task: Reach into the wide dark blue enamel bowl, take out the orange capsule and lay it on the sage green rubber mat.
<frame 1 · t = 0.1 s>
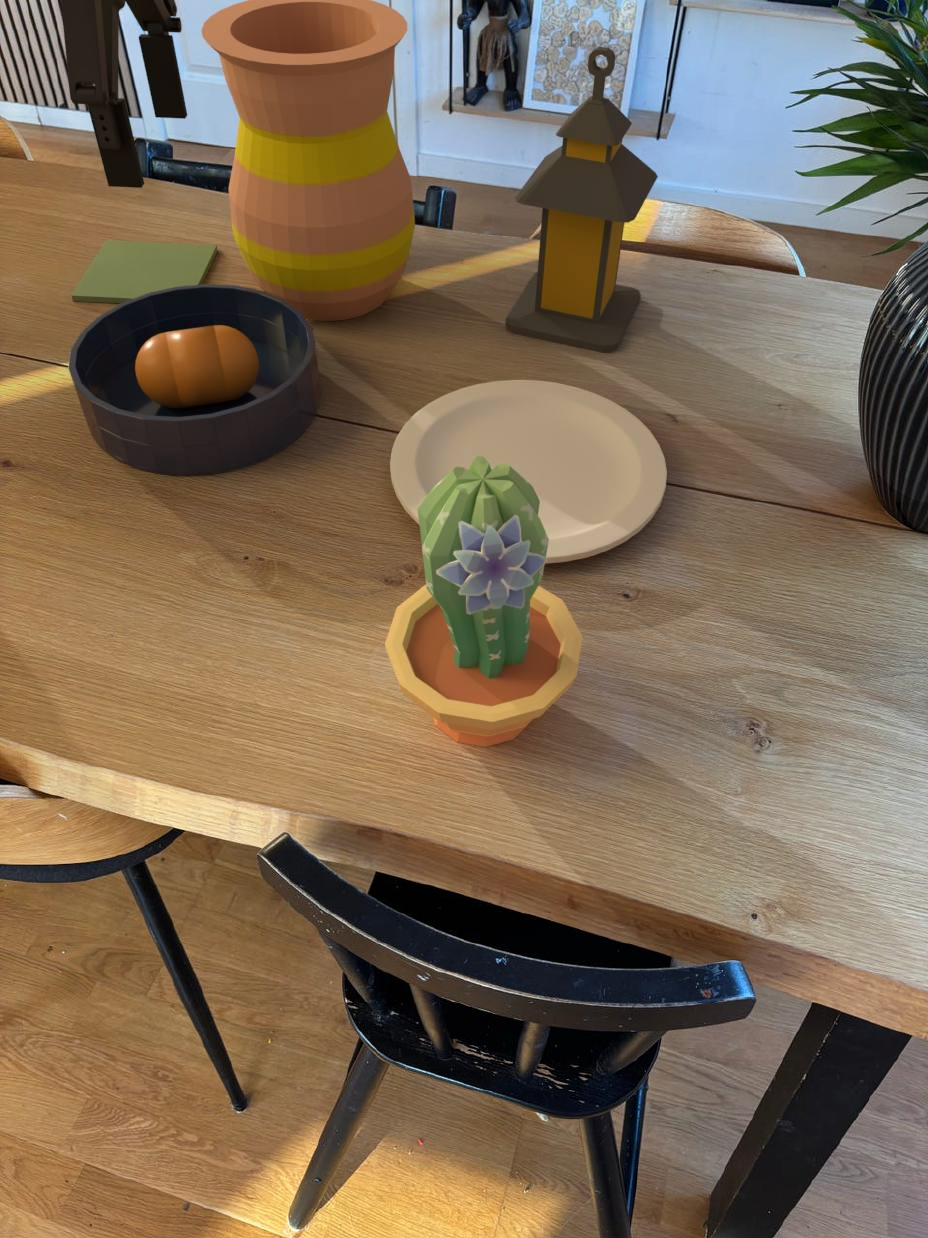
hand: (150, 149, 84), 30 cm above the table, tool pointing down, fingers open, 13 cm apart
mat: (147, 275, 127), on the table
vase: (330, 289, 125), on the table
bowl: (205, 401, 109), on the table
orange capsule: (204, 397, 109), resting on bowl
lantern: (573, 314, 122), on the table
potted cactus: (481, 703, 82), on the table
plate: (526, 479, 101), on the table
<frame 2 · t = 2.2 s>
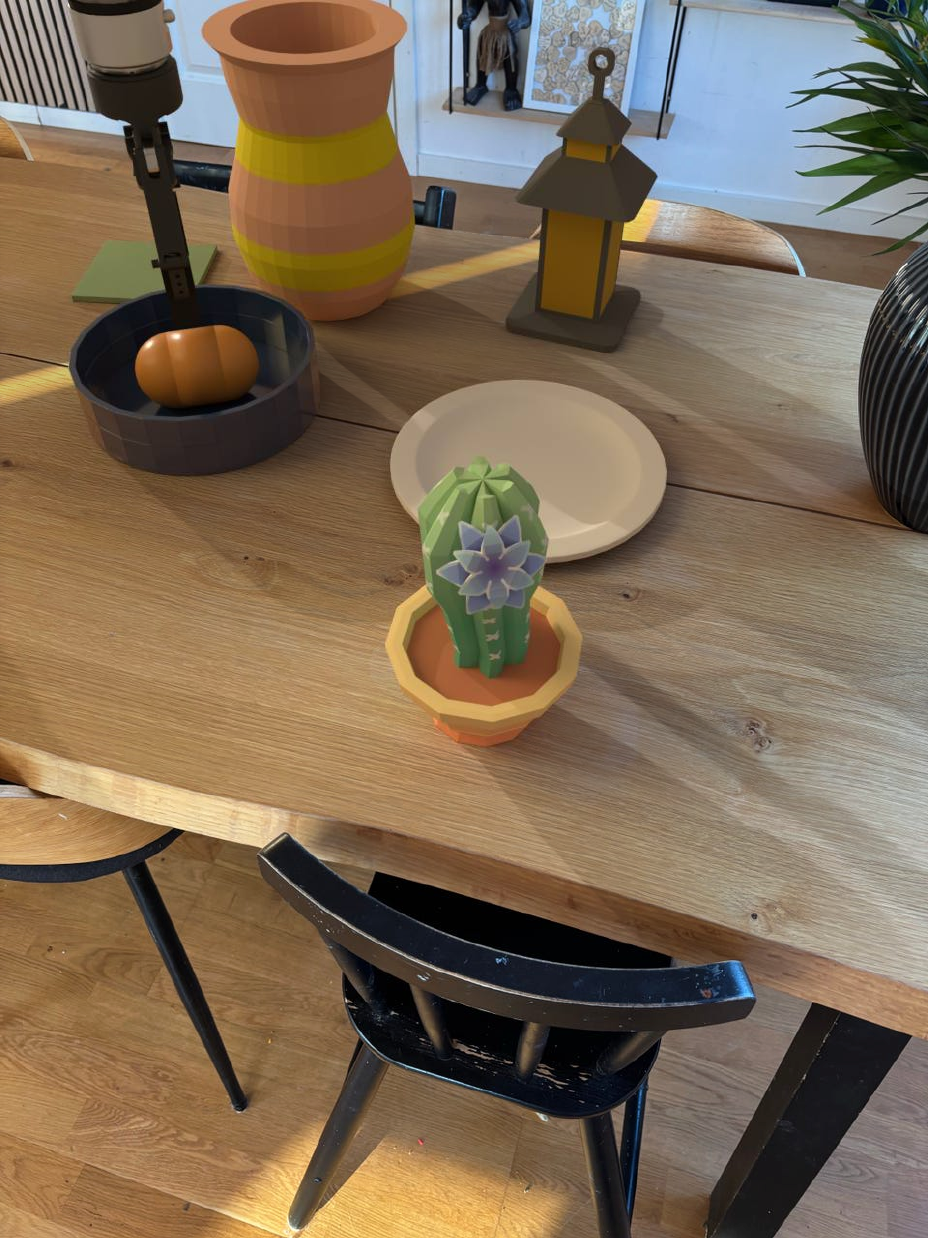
hand: (182, 288, 99), 14 cm above the table, tool pointing down, fingers open, 13 cm apart
nothing on the table moved.
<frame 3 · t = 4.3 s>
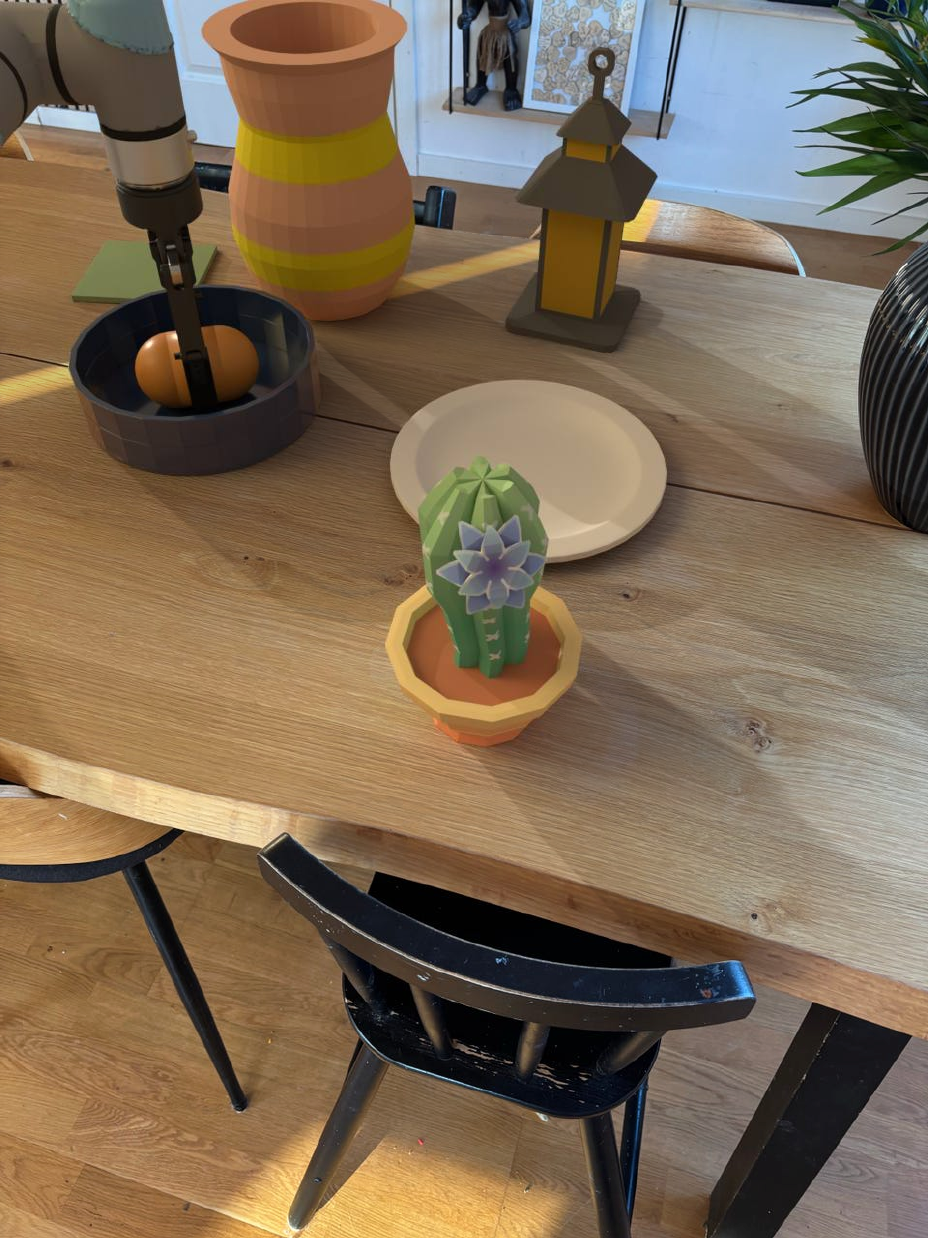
hand: (201, 381, 107), 3 cm above the table, tool pointing down, fingers closed on orange capsule, 8 cm apart
orange capsule: (204, 397, 109), point 1 cm above the table, touching bowl, gripper
everything else where it was.
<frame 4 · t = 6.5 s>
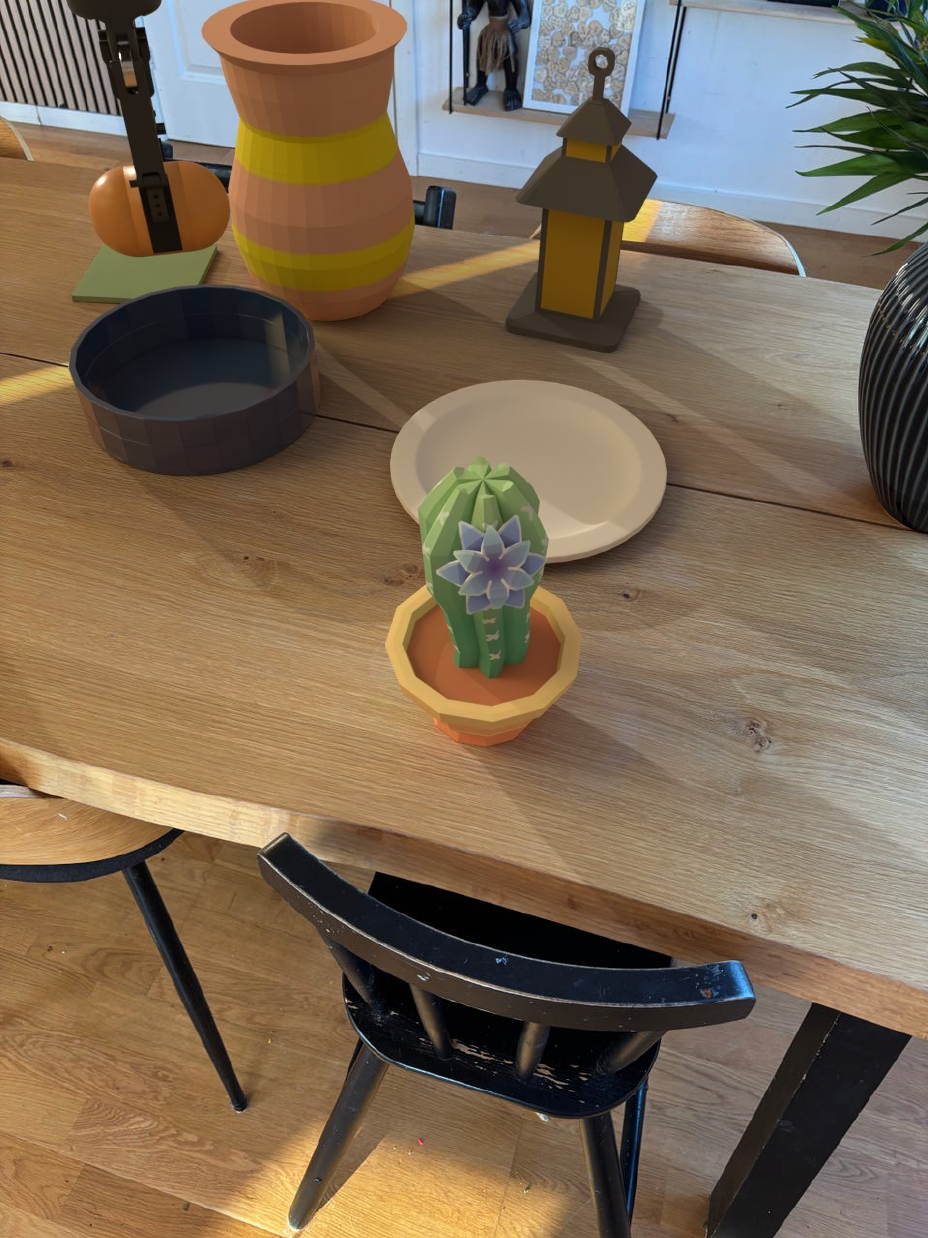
hand: (164, 227, 95), 20 cm above the table, tool pointing down, fingers closed on orange capsule, 8 cm apart
orange capsule: (169, 249, 96), point 18 cm above the table, touching gripper
everything else where it was.
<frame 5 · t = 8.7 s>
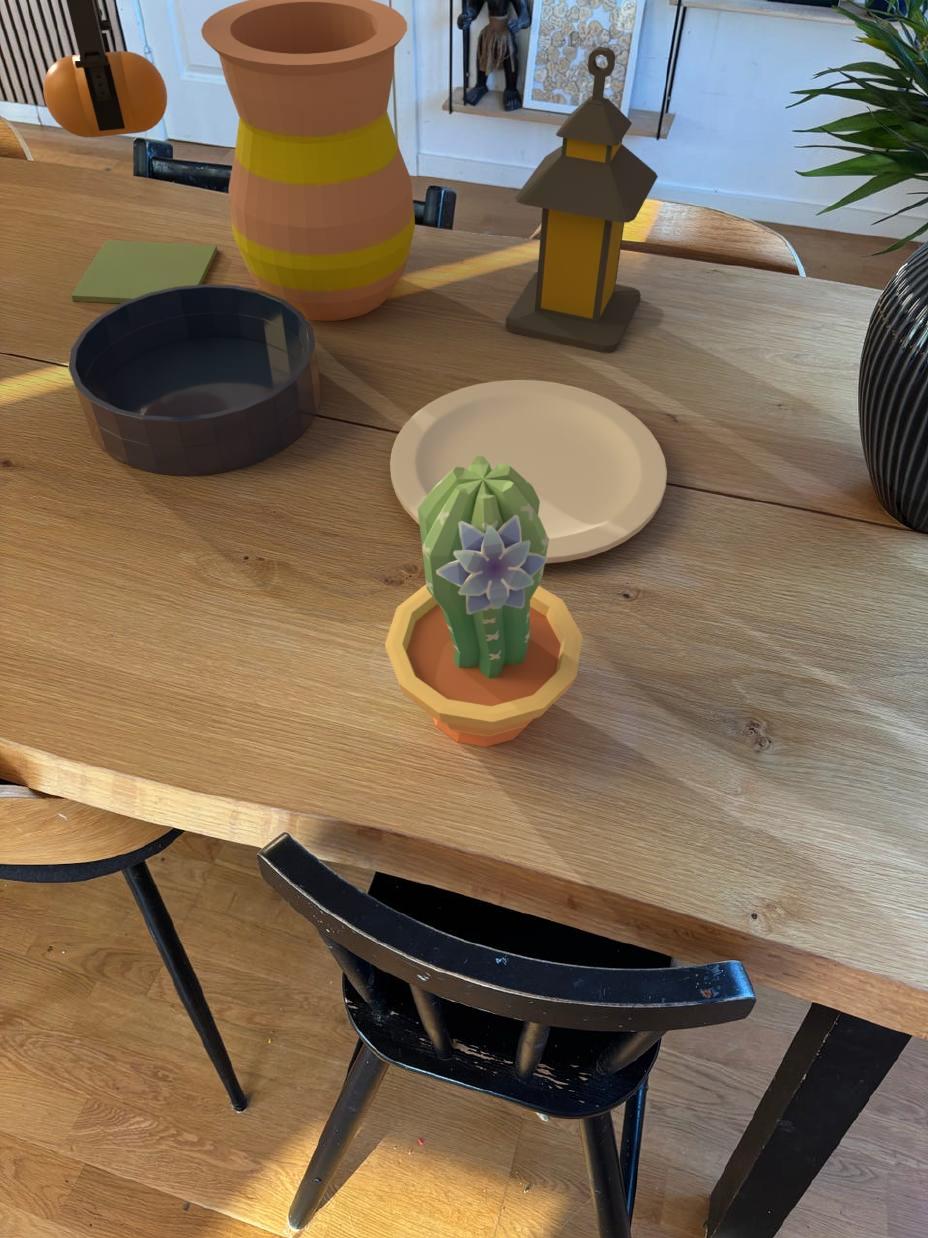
hand: (110, 112, 110), 21 cm above the table, tool pointing down, fingers closed on orange capsule, 8 cm apart
orange capsule: (115, 132, 111), point 19 cm above the table, touching gripper
everything else where it was.
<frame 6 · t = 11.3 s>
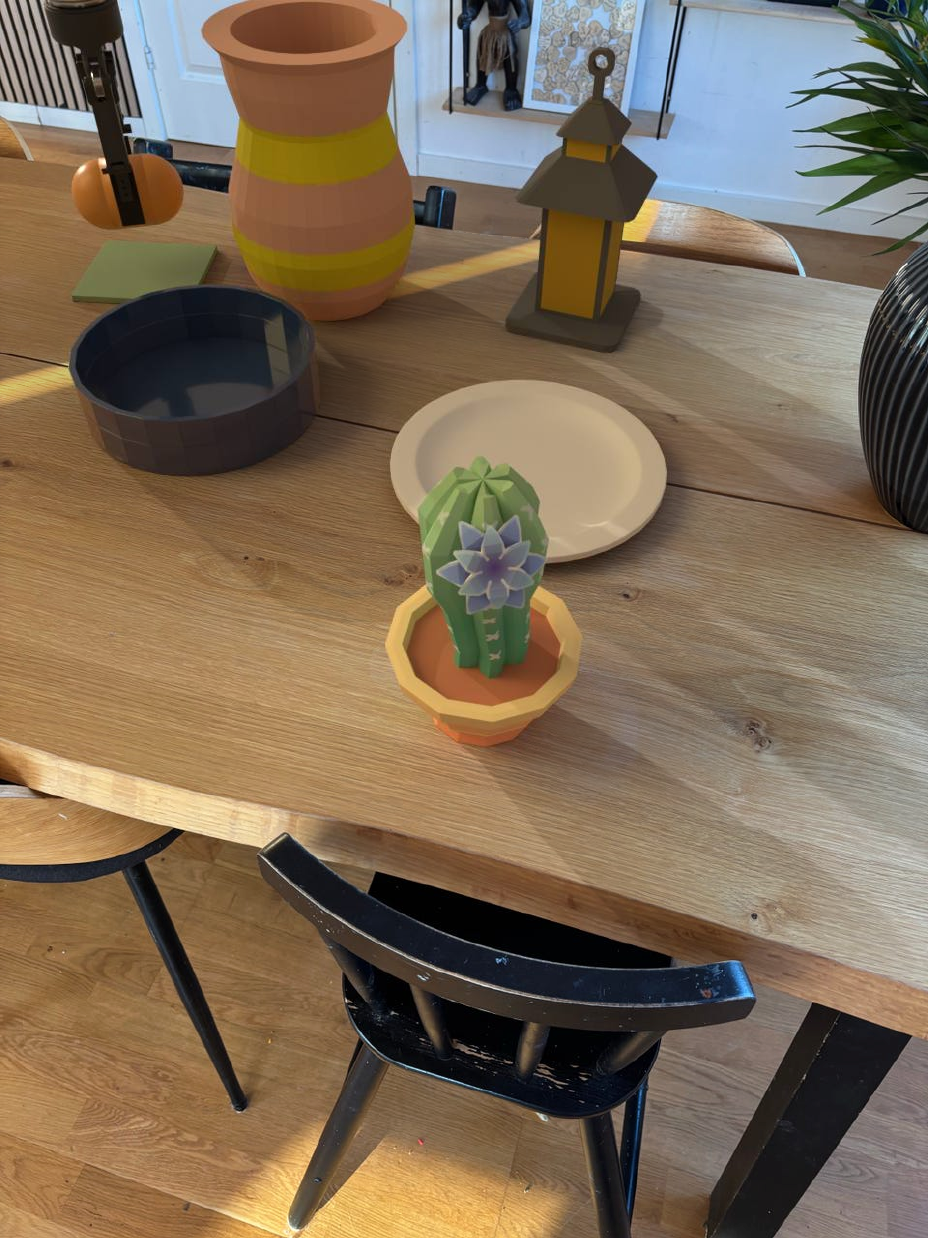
hand: (131, 206, 120), 9 cm above the table, tool pointing down, fingers closed on orange capsule, 8 cm apart
orange capsule: (136, 223, 122), point 7 cm above the table, touching gripper
everything else where it was.
when the fingers open (3 cm above the table, at t = 13.2 s): orange capsule stays where it is, resting on mat.
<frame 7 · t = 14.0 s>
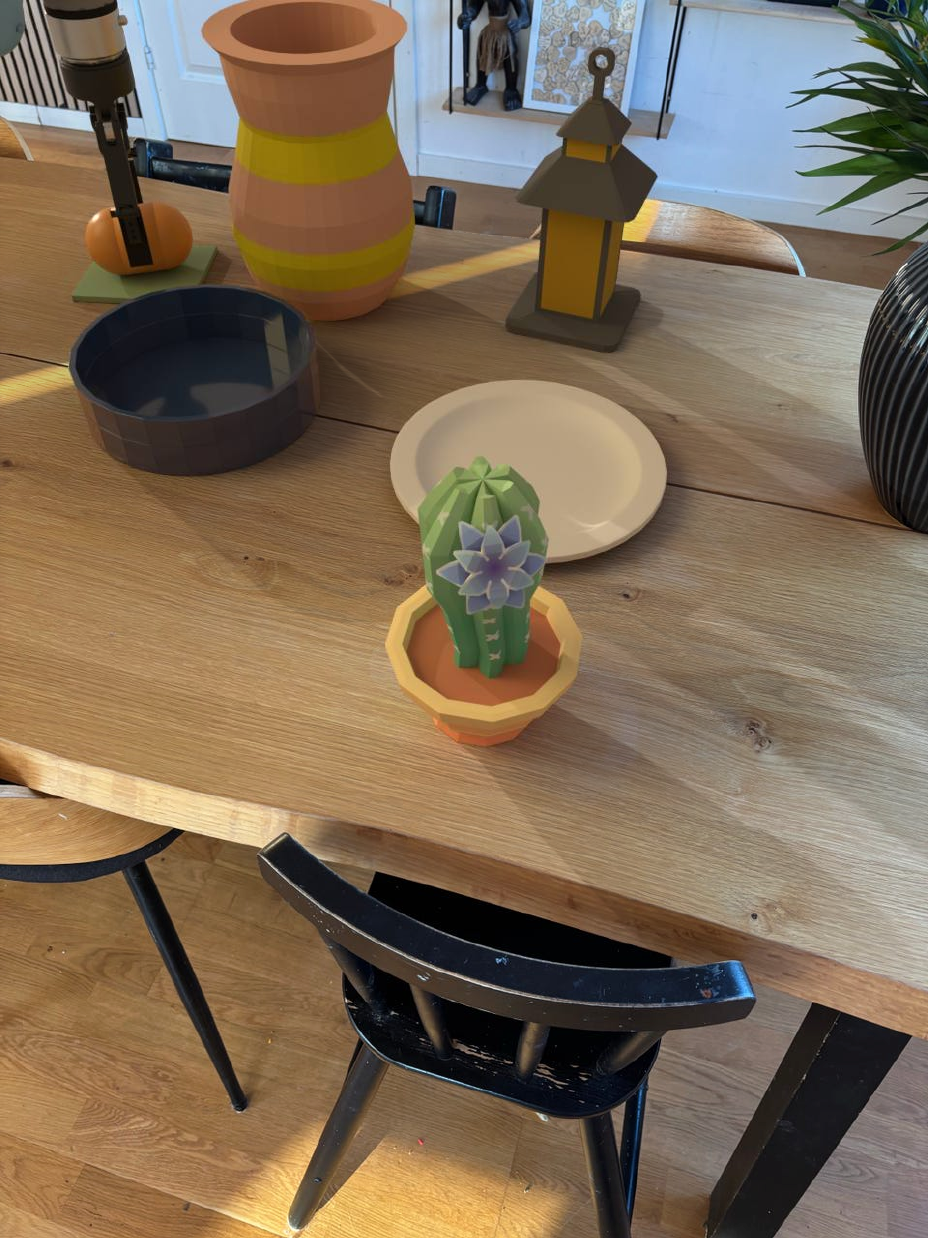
hand: (138, 238, 123), 5 cm above the table, tool pointing down, fingers open, 13 cm apart
orange capsule: (147, 269, 126), point 1 cm above the table, touching mat
everything else where it was.
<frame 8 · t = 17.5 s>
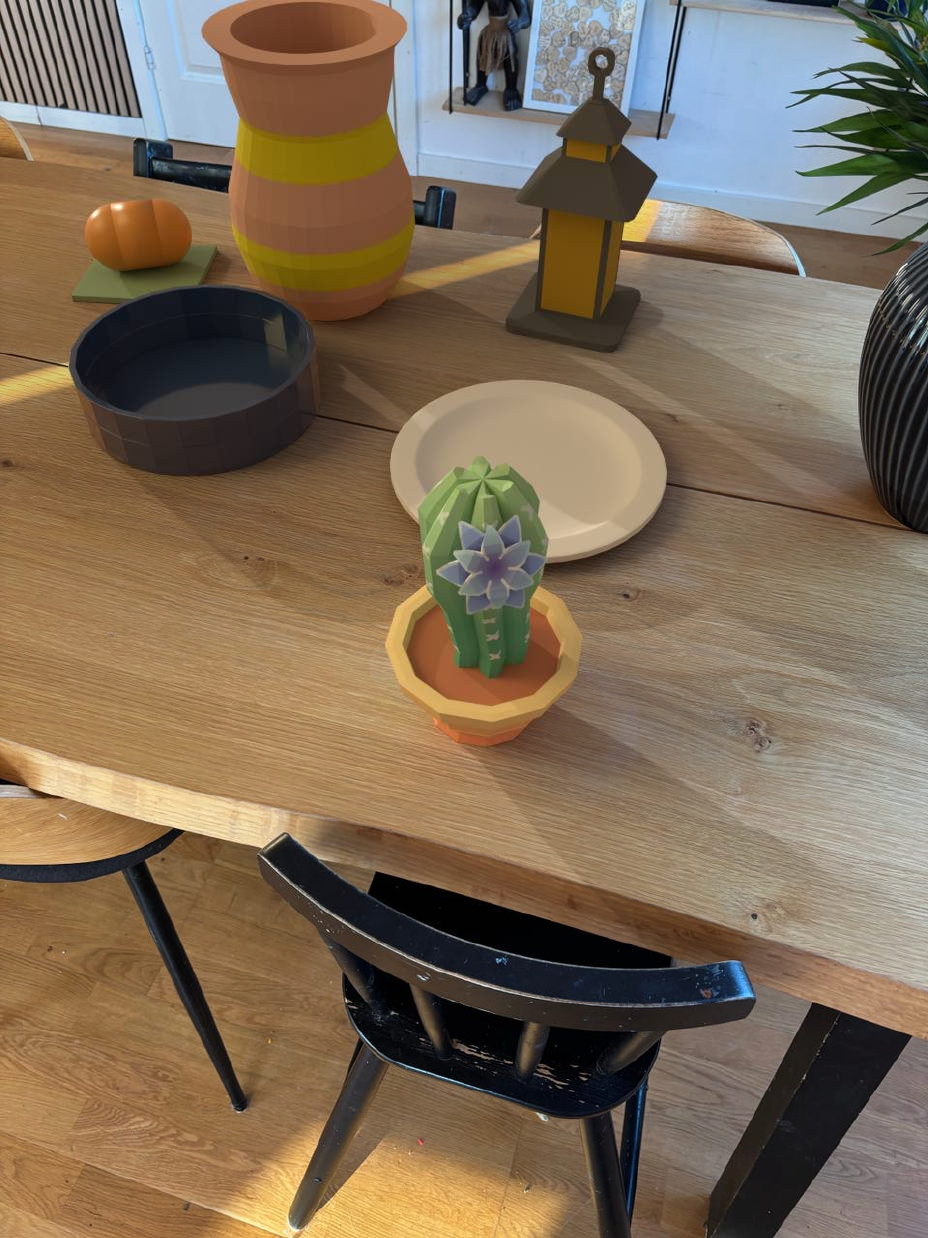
orange capsule: (146, 267, 126), point 1 cm above the table, tilted 18°, touching mat
everything else where it was.
at the end: orange capsule inside the target area on the mat (0.1 cm from its centre), point 1.0 cm above the mat's base; the gripper is holding nothing; orange capsule moved 29.6 cm from its start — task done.
